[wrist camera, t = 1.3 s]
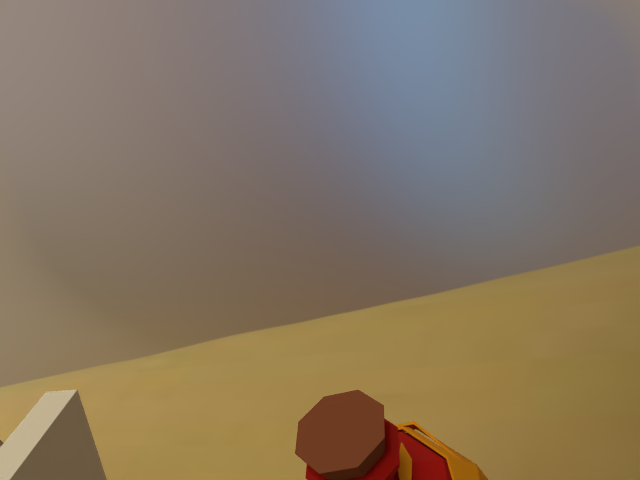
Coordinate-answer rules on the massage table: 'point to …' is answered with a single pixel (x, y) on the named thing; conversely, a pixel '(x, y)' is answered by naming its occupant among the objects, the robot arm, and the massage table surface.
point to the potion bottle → (372, 445)
